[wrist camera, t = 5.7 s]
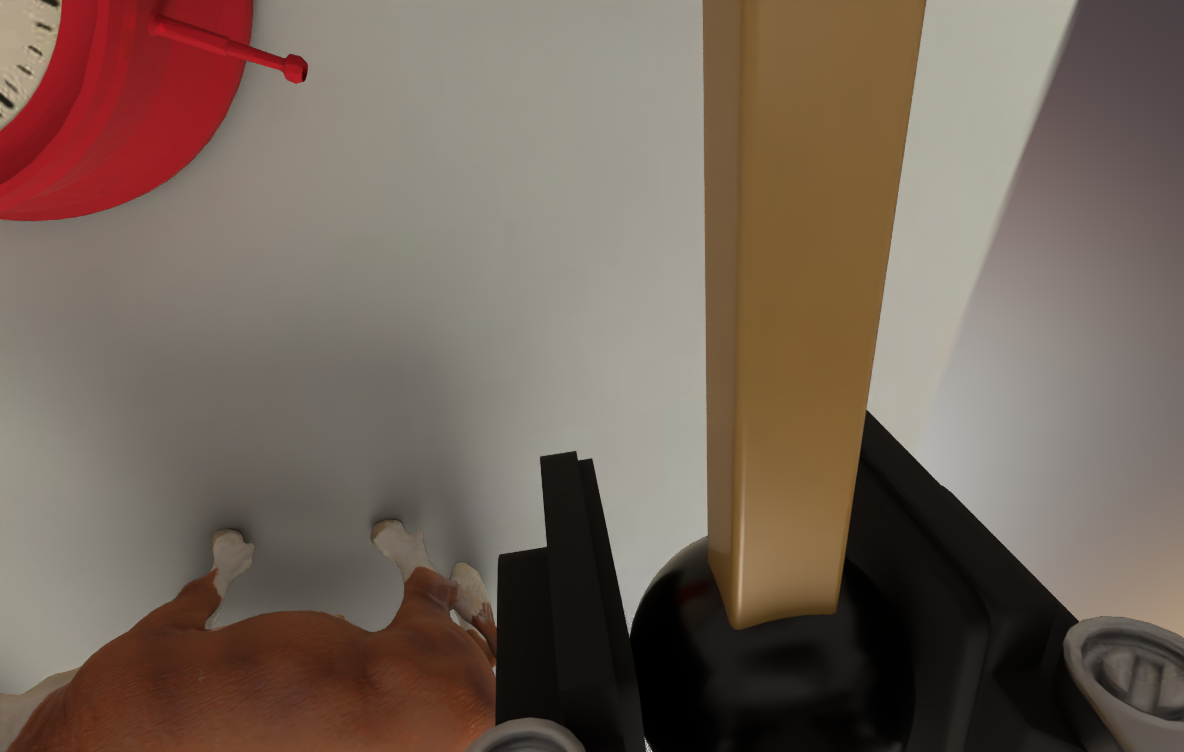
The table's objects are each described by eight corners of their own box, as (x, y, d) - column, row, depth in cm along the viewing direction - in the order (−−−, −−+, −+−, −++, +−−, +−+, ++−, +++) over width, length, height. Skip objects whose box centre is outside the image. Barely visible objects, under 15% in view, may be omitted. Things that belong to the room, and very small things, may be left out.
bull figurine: (15, 491, 18) (-335, 808, 10) (530, 515, 20) (542, 791, 12) (49, 616, 19) (-227, 959, 12) (516, 625, 22) (520, 922, 14)
